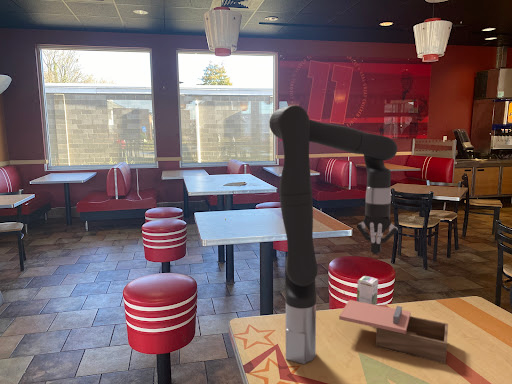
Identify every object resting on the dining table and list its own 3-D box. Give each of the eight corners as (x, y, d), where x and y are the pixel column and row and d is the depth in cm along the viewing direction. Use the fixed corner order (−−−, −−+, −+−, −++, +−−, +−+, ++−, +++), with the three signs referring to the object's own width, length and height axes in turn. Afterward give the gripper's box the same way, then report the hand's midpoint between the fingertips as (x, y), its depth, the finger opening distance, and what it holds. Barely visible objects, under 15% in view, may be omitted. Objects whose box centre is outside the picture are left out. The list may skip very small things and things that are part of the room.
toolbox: (445, 363, 112) (447, 343, 111) (375, 346, 122) (376, 328, 120) (446, 342, 124) (448, 323, 123) (382, 328, 133) (383, 310, 132)
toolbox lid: (405, 333, 116) (406, 322, 116) (339, 319, 126) (339, 309, 125) (410, 315, 128) (411, 304, 128) (349, 303, 138) (349, 293, 137)
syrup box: (361, 311, 146) (362, 275, 144) (376, 315, 142) (378, 278, 140) (355, 316, 141) (356, 279, 139) (371, 321, 138) (372, 283, 136)
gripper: (354, 201, 120) (352, 254, 122) (398, 204, 114) (395, 260, 116) (359, 197, 126) (357, 248, 129) (401, 200, 120) (399, 253, 123)
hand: (375, 253), depth 123 cm, fingers closed
